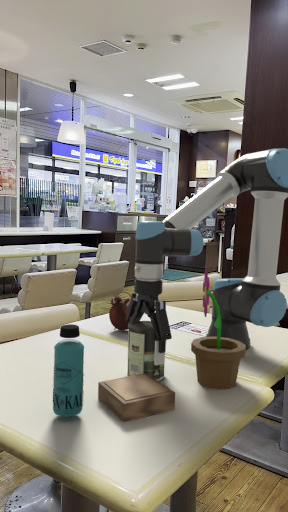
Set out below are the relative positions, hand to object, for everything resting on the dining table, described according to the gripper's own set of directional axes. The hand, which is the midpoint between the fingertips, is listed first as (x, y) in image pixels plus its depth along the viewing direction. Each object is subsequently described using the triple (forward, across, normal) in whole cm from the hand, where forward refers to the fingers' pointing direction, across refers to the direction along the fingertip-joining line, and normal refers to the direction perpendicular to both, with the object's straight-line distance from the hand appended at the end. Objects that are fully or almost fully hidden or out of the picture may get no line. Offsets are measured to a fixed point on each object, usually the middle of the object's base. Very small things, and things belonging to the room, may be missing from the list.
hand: (145, 356), depth 115 cm
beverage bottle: (+6, +13, -27) cm, 30 cm away
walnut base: (+5, +14, -11) cm, 19 cm away
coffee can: (+6, 0, 0) cm, 6 cm away
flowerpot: (+6, +12, +15) cm, 20 cm away
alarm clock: (+6, -42, +15) cm, 45 cm away
